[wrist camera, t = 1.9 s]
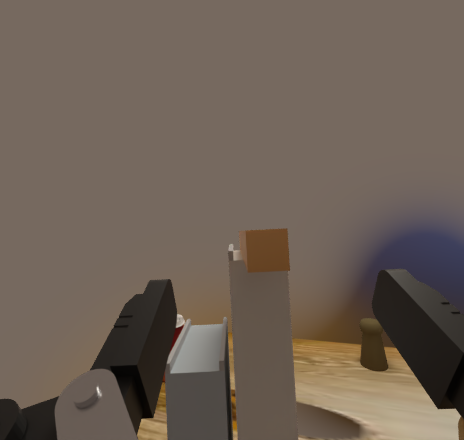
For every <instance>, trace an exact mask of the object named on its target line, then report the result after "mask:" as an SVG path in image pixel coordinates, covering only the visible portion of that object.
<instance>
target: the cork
mask: <svg viewBox="0 0 464 440" xmlns="http://www.w3.org/2000/svg"><path fill="white" fill-rule="evenodd" d="M360 329H361V331H362V332H363V334H362V347H361V361H360V362H361V365H362V366H364V367H365V368H367V369H370V370H374V371H385V370H387V369H388V364H387V360H386V355H385V350H384V346H383V342H382V337H381V334H382V332H383V328H382V326H381V325H380V323H379V322H378V320H376V319H372V318H365V319H362V320H361V321H360Z"/></svg>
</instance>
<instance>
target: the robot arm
mask: <svg viewBox="0 0 464 440" xmlns="http://www.w3.org/2000/svg"><path fill="white" fill-rule="evenodd" d="M372 308H373V312H374V315H375V317H376V319H377V320H378V322H379V323H380V325H381V326H382V328H383V329H384V331H385V332H386V333H387V335H388V336H389V338H390V339H391V341H392V342H393V344H394V345H395V347H396V348H397V350H398V351H399V353H400V354H401V356H402V357H403V358H404V360H405V361H406V363H407V364H408V366H409V367H410V369H411V370H412V372H413V373H414V375H415V376H416V377H417V379H418V380H419V382H420V383H421V385H422V386H423V388H424V389H425V391H426V392H427V394H428V395H429V396H430V398H431V399H432V401H433V402H434V404H435V405H436V407H437V408H438V409H455V408H456V410H457V411H458V412H459V414H460V415H461V417H460V419H459V423H458V430H459V440H464V315H463V314H460V311H459V310H458V309H456V308H455V307H454V306H453V305H450V303H449V301H448V300H446V299H445V298H444V297H443V296H442V295H441V294H440V293H439V292H437V291H436V290H434V289H432V288H431V287H429V286H427V285H425V284H423V283H422V282H418V281H417V280H416V279H415V278H414V277H413V276H412V275H411V274H409V273H408V272H407V271H406V270H404V269H392V270H381V271H380V272H379V274H378V277H377V282H376V287H375V291H374V296H373V300H372ZM176 324H177V308H176V303H175V298H174V293H173V287H172V283H171V280H170V279H166V280H150V281H149V283H148V285H147V287H146V290H145V291H144V293H143V294H136V295H135V296H134V297H133V298H132V299H130V300H129V301H128V302H127V303H126V304H125V306H124V308H123V310H122V311H121V313H120V315H119V318H118V319H117V321H116V323H115V325H114V328H113V329H112V330H111V332H110V334H109V336H108V338H107V340H106V342H105V343H104V345H103V347H102V349H101V351H100V353H99V355H98V356H97V358H96V360H95V362H94V364H93V366H92V368H91V369H90V371H88V372H86V373H84V374H82V375H80V376H79V377H77V378H76V379H74V380H73V381H72V382H71V383H70V384H69V385H68V386H67V387H66V388H65V389H64V390H63V392H62V393H61V395H60V396H58V397H56V398H53V399H50V400H47V401H44V402H41V403H38V404H35V405H33V406H30V407H27V408H24V409H20V407H19V406H18V404H17V403H16V402H15V401H14V400H11V399H0V440H138V437H137V433H138V429H139V426H140V422H141V419H143V418H153V417H154V413H155V409H156V405H157V401H158V397H159V393H160V389H161V385H162V381H163V377H164V373H165V369H166V365H167V361H168V357H169V353H170V349H171V345H172V341H173V337H174V333H175V329H176Z"/></svg>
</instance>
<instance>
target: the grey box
mask: <svg viewBox="0 0 464 440" xmlns="http://www.w3.org/2000/svg"><path fill="white" fill-rule="evenodd" d="M165 384H166V410H167V435H168V440H233V426H232V406H231V386H230V366H229V347H228V327H227V317H224V320H223V324H216V325H196V326H191V319H188V320H187V321H186V323H185V325H184V327H183V329H182V331H181V333H180V335H179V337H178V339H177V341H176V343H175V345H174V347H173V349H172V351H171V352H170V354H169V357H168V361H167V365H166V369H165Z"/></svg>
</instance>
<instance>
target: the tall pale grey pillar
mask: <svg viewBox="0 0 464 440" xmlns="http://www.w3.org/2000/svg"><path fill="white" fill-rule="evenodd" d="M228 256H229V276H230V294H231V313H232V314H231V315H232V334H233V354H234V374H235V393H236V413H237V432H238V440H298V429H297V412H296V396H295V379H294V363H293V347H292V331H291V315H290V298H289V282H288V271H272V272H252V273H248V272H247V269H246V266H245V263H244V261H243V258H242V255H241V252H240V250H238V251H233V244H230V246H229V250H228Z"/></svg>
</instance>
